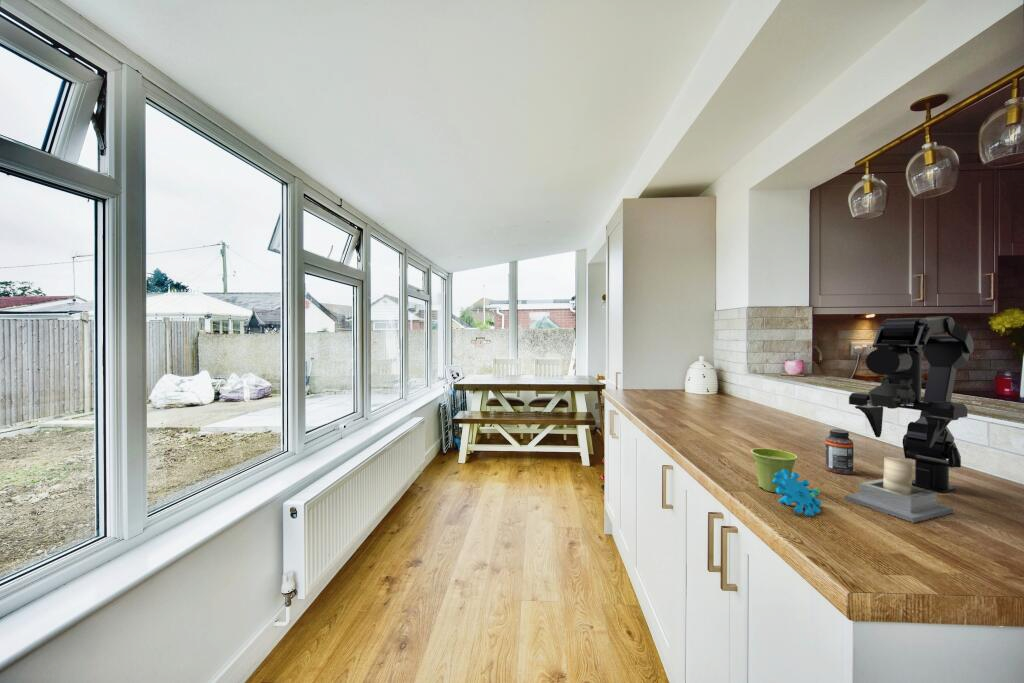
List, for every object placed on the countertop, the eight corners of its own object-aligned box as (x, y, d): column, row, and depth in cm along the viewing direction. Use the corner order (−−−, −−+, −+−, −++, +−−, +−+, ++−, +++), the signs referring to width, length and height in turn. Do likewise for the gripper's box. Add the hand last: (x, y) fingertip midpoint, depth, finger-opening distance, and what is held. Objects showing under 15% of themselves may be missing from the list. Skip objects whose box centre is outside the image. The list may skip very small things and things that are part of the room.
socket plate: (883, 491, 94) (883, 487, 94) (953, 512, 82) (953, 508, 82) (844, 499, 89) (844, 495, 89) (912, 523, 78) (912, 518, 78)
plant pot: (753, 479, 102) (754, 445, 102) (798, 487, 96) (798, 452, 96) (747, 489, 95) (747, 454, 95) (795, 500, 89) (796, 461, 89)
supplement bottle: (828, 466, 112) (828, 426, 112) (855, 472, 108) (855, 430, 107) (822, 471, 108) (822, 430, 108) (850, 476, 104) (851, 434, 104)
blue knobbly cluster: (793, 512, 79) (768, 466, 86) (773, 523, 83) (750, 478, 90) (838, 515, 81) (810, 469, 88) (816, 526, 85) (791, 481, 92)
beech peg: (890, 495, 89) (891, 456, 88) (915, 504, 84) (917, 462, 84) (878, 498, 87) (879, 458, 87) (903, 506, 83) (904, 464, 83)
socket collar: (884, 491, 91) (884, 478, 91) (936, 506, 83) (936, 492, 83) (859, 496, 88) (859, 483, 88) (910, 513, 80) (911, 498, 80)
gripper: (834, 371, 95) (833, 435, 96) (938, 378, 78) (937, 457, 78) (863, 369, 99) (863, 431, 99) (969, 376, 82) (968, 451, 82)
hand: (902, 441), depth 89 cm, fingers open, 9 cm apart
